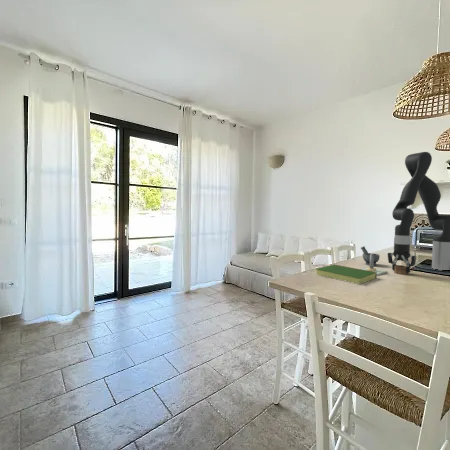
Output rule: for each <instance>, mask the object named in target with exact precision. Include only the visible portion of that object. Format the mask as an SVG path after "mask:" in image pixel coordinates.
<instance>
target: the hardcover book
mask: <svg viewBox="0 0 450 450" xmlns="http://www.w3.org/2000/svg"><path fill="white" fill-rule="evenodd" d="M317 274H319V275H318V276H321V275H323V276H322V277H325V276H328V277H327V278H330V277H332V278H331V279H334V278H336V279H335V280H338V279H341V280H340V281H342V280H346V281H345V282H347V281H350V282H349V283H351V282H354V283H353V284H355V283H358V284H357V285H360V283H361V284H364V283H366V282H365V281H367V282H370V281H372V280H374V279H375V280H376V279H377V272H372V271H367V270H361V268H354V267H349V266H345V265H340V264H331V265H327V266H323V267H318V268H316V275H317ZM363 282H364V283H363Z"/></svg>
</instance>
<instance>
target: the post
mask: <svg viewBox="0 0 450 450" xmlns="http://www.w3.org/2000/svg"><path fill="white" fill-rule="evenodd" d="M374 254H375V253H372V254H370V265H369V267H367V266H366V267H362V268H360V269H361V270H367V271H372V272H377V276H380V275H384V274H388V270H383V269H378V268H376V267H375V266H374Z"/></svg>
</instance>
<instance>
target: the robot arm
mask: <svg viewBox="0 0 450 450" xmlns="http://www.w3.org/2000/svg"><path fill="white" fill-rule="evenodd" d="M432 160H433V157H432V154H431V153H430V152H429V151H421V152H415V153H411V154H408V155H406V157H405V159H404V165H405V168H406V170H407V172H408V173H409V175H410V176H411V178H410V179H409V180H408V182H407V183H406V184H405V186H404V187H403V189H402V191H401V194H400V198H399V200H398V202H397V203H396V205H395V207H394V208H393V210H392V213H391V214H392V218H393V219H394V220H396V221H400V224H397V225H395V227H394V238H393V252H387V261H388V263H389V264H391V269H392V272H394V266H395V265H397V263H398V262H399V261H401V262H403V263H404V264H405V266H407V267H406V273H408V274H409V273H411V268H412V267H414V266H415V265H416V260H417V255H412V254H411V253H410V252H411V227H412V223H413V221H414V218H415V213H414V210H413V209H411V208H409V207H410V206H412V205H414V204H415V201H416V198H417V195H419V196H420V199H421V202H422V204H423V206H424V209H425V212H426V215H427V219H428V223H429V224H430V225H429V226H430V227H431V228H432V229H433V230H437V231H439V230H440V231H442V232H441V234H438V235H434V236H433V237H432V250H431V252H432V253H431V255H432V256H431V269H432V268H433V269H432V270H435V269H438V270H437V271H442V270H450V214H439V212H438V209H437V208H438V205H439V202H440V201H441V198H442V194H441V191H440V189H439V186H438V184H437V183H436V182H435V181H434V180H432V179H431V178H430V177H429V176H427V175H426V174H427V172H428V170H429V169H430V166H431V164H432ZM393 257H394V259H393ZM409 259H410V260H409Z"/></svg>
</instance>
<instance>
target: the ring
mask: <svg viewBox="0 0 450 450" xmlns="http://www.w3.org/2000/svg"><path fill="white" fill-rule="evenodd" d="M406 267H407V266H406V265H398V264H396V265H395V266H394V271H393V273H394V274H397V275H405V276H406V275H408V274H409V273H406Z"/></svg>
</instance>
